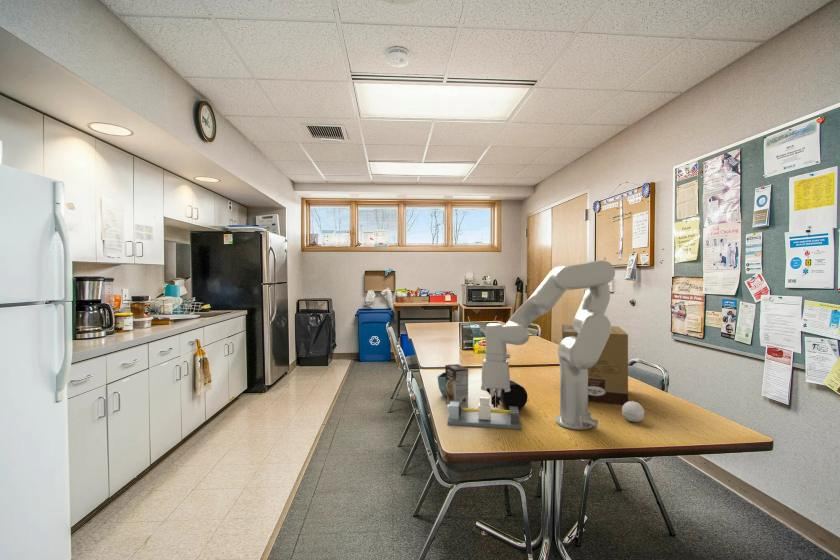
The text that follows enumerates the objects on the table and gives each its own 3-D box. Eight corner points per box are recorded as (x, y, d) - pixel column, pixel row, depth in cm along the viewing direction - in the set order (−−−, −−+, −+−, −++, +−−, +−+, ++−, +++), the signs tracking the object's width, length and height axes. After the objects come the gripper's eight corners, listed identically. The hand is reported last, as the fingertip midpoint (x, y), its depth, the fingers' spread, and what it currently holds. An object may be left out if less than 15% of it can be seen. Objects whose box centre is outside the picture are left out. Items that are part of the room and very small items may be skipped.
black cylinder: (499, 396, 180) (508, 377, 181) (521, 414, 146) (531, 391, 147) (481, 386, 180) (490, 368, 181) (498, 402, 147) (509, 379, 148)
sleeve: (490, 414, 139) (490, 395, 139) (490, 419, 134) (490, 400, 134) (478, 414, 140) (478, 395, 140) (478, 419, 135) (478, 399, 135)
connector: (462, 414, 141) (461, 402, 141) (461, 419, 136) (461, 406, 136) (448, 413, 142) (448, 401, 142) (446, 418, 137) (446, 405, 137)
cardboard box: (618, 389, 176) (619, 326, 176) (628, 406, 152) (628, 333, 152) (561, 383, 185) (562, 323, 185) (562, 399, 161) (562, 330, 161)
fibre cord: (518, 413, 135) (518, 410, 135) (518, 414, 134) (518, 411, 134) (457, 410, 139) (457, 406, 139) (457, 411, 138) (457, 408, 138)
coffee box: (444, 402, 158) (444, 365, 158) (458, 400, 161) (457, 363, 160) (455, 409, 150) (454, 369, 149) (468, 407, 152) (468, 368, 152)
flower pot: (443, 390, 174) (443, 371, 174) (461, 393, 171) (461, 373, 171) (437, 396, 166) (437, 376, 166) (456, 398, 163) (455, 378, 163)
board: (518, 418, 140) (518, 405, 140) (521, 429, 130) (521, 415, 130) (450, 414, 144) (450, 401, 144) (447, 424, 134) (447, 410, 134)
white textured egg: (617, 419, 138) (617, 400, 138) (630, 416, 141) (630, 397, 141) (642, 429, 129) (642, 408, 129) (656, 426, 132) (656, 405, 132)
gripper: (515, 355, 138) (515, 404, 139) (475, 354, 141) (475, 401, 141) (517, 360, 131) (517, 411, 131) (475, 358, 134) (474, 408, 134)
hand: (495, 406), depth 136 cm, fingers closed
